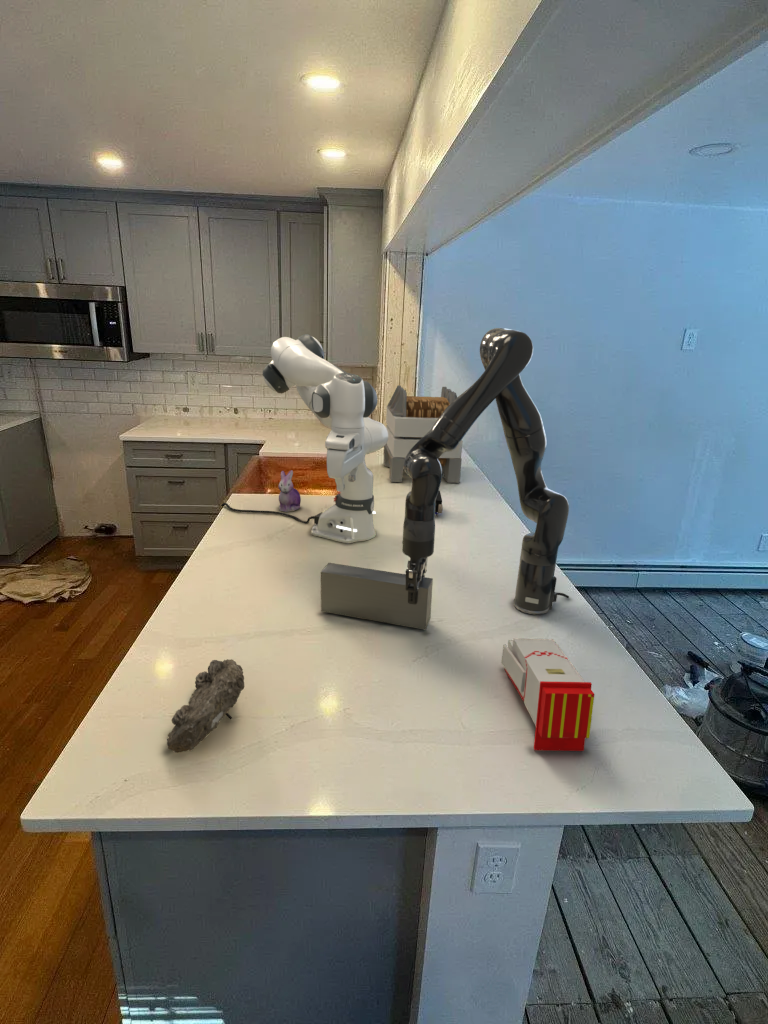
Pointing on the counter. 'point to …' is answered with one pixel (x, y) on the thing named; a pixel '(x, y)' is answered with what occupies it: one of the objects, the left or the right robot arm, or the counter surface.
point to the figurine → (288, 493)
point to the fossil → (206, 705)
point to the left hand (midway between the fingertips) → (346, 485)
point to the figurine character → (438, 504)
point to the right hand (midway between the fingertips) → (415, 597)
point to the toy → (550, 693)
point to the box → (374, 595)
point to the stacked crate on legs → (417, 431)
